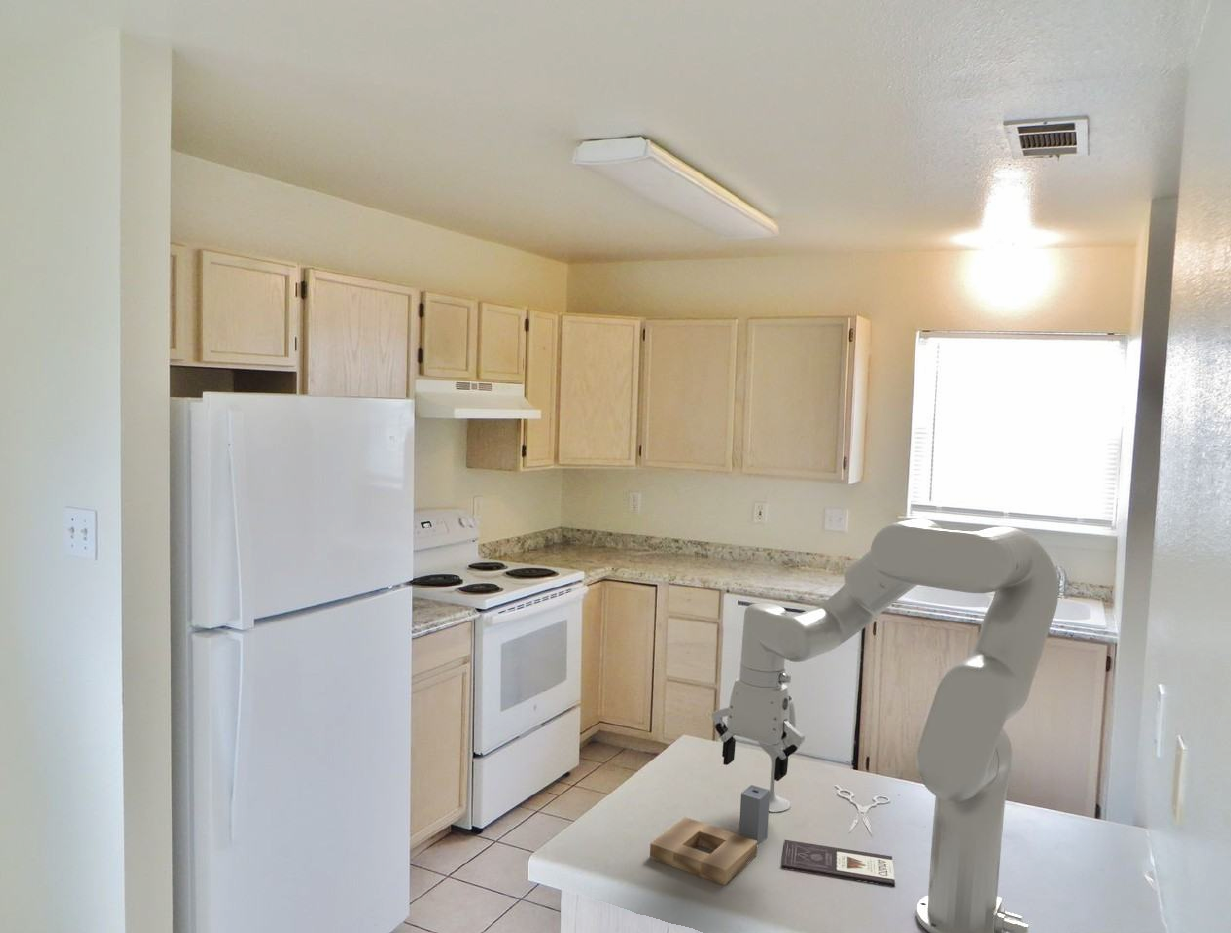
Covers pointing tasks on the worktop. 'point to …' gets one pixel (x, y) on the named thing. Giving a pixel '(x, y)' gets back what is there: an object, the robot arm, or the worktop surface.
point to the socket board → (715, 866)
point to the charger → (754, 813)
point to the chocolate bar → (838, 862)
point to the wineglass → (775, 801)
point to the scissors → (860, 808)
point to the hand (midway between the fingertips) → (753, 770)
